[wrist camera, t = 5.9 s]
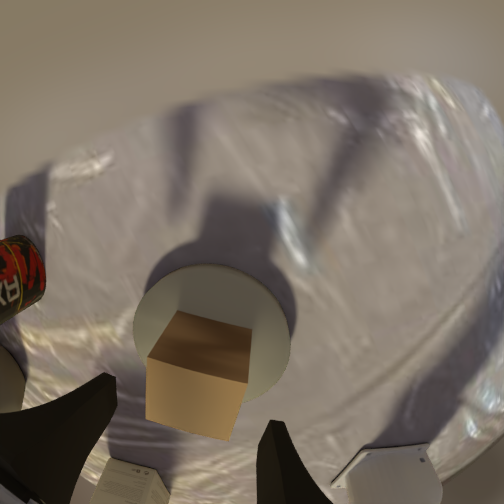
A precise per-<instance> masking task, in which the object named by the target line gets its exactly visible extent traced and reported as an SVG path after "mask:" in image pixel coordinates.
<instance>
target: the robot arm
mask: <svg viewBox="0 0 504 504" xmlns="http://www.w3.org/2000/svg"><path fill="white" fill-rule="evenodd" d="M116 407H117V392H116V377H115V376H112V375H110V374H108V373H105V372H104V373H102V374H100V375H98V376H97V377H95V378H94V379H92V380H90V381H89V382H87V383H85V384H84V385H82V386H80V387H79V388H77V389H75V390H73V391H71V392H70V393H68V394H66V395H64V396H62V397H59V398H57V399H55V400H53V401H51V402H48V403H46V404H43V405H40V406H37V407H33V408H30V409H25V410H21V411H15V412H8V413H0V504H69V503H70V500H71V496H72V494H73V491H74V488H75V485H76V482H77V479H78V477H79V475H80V473H81V470H82V468H83V466H84V464H85V461H86V459H87V457H88V455H89V454H90V452H91V450H92V449H93V447H94V446H95V444H96V443H97V441H98V439H99V438H100V436H101V435H102V433H103V432H104V430H105V429H106V427H107V425H108V424H109V422H110V420H111V418H112V416H113V414H114V412H115V410H116ZM428 448H429V444H428V443H426V444H420V445H412V446H404V447H394V448H381V449H364V450H362V451H360V452H359V454H358V455H357V456H356V457H355V458H354V460H353V461H352V462H351V463H350V464H349V465H348V466H347V467H346V469H345V470H344V471H343V472H342V473H341V474H340V475H339V476H338V477H337V478H336V479H335V480H334V481H333V482H332V483H331V484H330V488H346V490H347V495H348V499H349V504H440V502H441V499H442V494H443V493H442V492H443V489H442V484H441V482H440V480H439V477H438V475H437V473H436V471H435V469H434V467H433V465H432V463H431V461H430V459H429V457H428V455H427V453H426V450H427V449H428ZM256 474H257V504H333V503H332V502H331V501H330V500H329V499H328V498H327V497H326V496H325V494H324V493H323V492H322V491H321V490H320V488H319V487H318V486H317V484H316V483H315V482H314V480H313V479H312V477H311V476H310V474H309V473H308V471H307V469H306V468H305V466H304V464H303V463H302V461H301V459H300V457H299V455H298V453H297V451H296V449H295V447H294V445H293V443H292V440H291V438H290V436H289V433H288V431H287V428H286V425H285V423H284V422H283V421H276V420H270V421H269V423H268V425H267V428H266V430H265V432H264V434H263V436H262V438H261V440H260V442H259V444H258V452H257V461H256Z"/></svg>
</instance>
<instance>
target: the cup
mask: <svg viewBox="0 0 504 504" xmlns="http://www.w3.org/2000/svg"><path fill="white" fill-rule="evenodd" d="M24 392H25V379H24V376H23V373H22V372H21V370H20V368H19V366H18V364H17V363H16V361H15V360H14V358H13V357H12V356H11V355H10V353H9V352H8V351H7V350H6V349H5V348H4V347H2V346H1V345H0V413H8V412H15V411H21V408H22V403H23V398H24Z"/></svg>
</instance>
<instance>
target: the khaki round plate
mask: <svg viewBox="0 0 504 504" xmlns="http://www.w3.org/2000/svg"><path fill="white" fill-rule="evenodd" d="M177 310H179V311H182V312H186V313H189V314H193V315H197V316H200V317H204V318H208V319H212V320H216V321H220V322H224V323H228V324H232V325H236V326H240V327H245V328H249V329H252V339H251V352H250V365H249V377H248V385H247V388H246V391H245V394H244V397H243V400H242V403H243V402H247V401H250V400H252V399H255V398H257V397H259V396H260V395H262V394H264V393H265V392H267V391H268V390H269V389H271V388H272V387H273V386H274V385H275V384H276V383H277V381H278V380H279V379H280V378H281V376H282V374H283V373H284V371H285V369H286V367H287V364H288V361H289V356H290V345H291V344H290V335H289V329H288V323H287V320H286V316H285V313H284V311H283V309H282V307H281V305H280V303H279V302H278V300H277V299H276V297H275V296H274V295H273V294H272V292H271V291H270V290H269V289H268V288H267V287H266V286H264V285H263V284H262V283H261V282H260V281H258V280H257V279H255V278H254V277H252V276H250V275H249V274H247V273H245V272H243V271H240V270H238V269H235V268H232V267H228V266H224V265H218V264H195V265H189V266H185V267H182V268H179V269H177V270H174V271H172V272H170V273H169V274H167V275H166V276H164V277H163V278H162V279H161V280H159V281H158V282H157V283H156V284H155V285H154V286H153V287H152V288H151V289H150V290H149V291H148V292H147V293H146V294H145V295H144V297H143V298H142V300H141V301H140V303H139V305H138V307H137V310H136V312H135V316H134V321H133V336H134V342H135V346H136V349H137V352H138V355H139V357H140V359H141V360H142V362H143V364H144V365H145V367H146V368H147V356H148V355H149V353H150V351H151V350H152V348H153V347H154V345H155V344H156V342H157V340H158V339H159V337H160V336H161V334H162V333H163V331H164V330H165V328H166V327H167V325H168V324H169V322H170V320H171V319H172V317H173V316H174V314H175V313H176V311H177Z"/></svg>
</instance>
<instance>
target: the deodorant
mask: <svg viewBox="0 0 504 504" xmlns="http://www.w3.org/2000/svg"><path fill="white" fill-rule="evenodd" d="M45 287H46V276H45V269H44V265H43V261H42V259H41V256H40V254H39V252H38V250H37V249H36V247H35V245H34V244H33V243H32V242H31V241H30V240H29V239H28V238H26V237H25V236H22V235H16V236H13V237H10V238H6V239H3V240H0V325H1V324H3V323H4V322H6V321H7V320H9V319H10V318H12V317H13V316H15V315H16V314H18V313H20V312H21V311H23V310H24V309H26V308H28V307H29V306H31V305H32V304H34V303H36V302H37V301H39V300H40V299H41V298H42V296H43V295H44V291H45Z"/></svg>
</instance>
